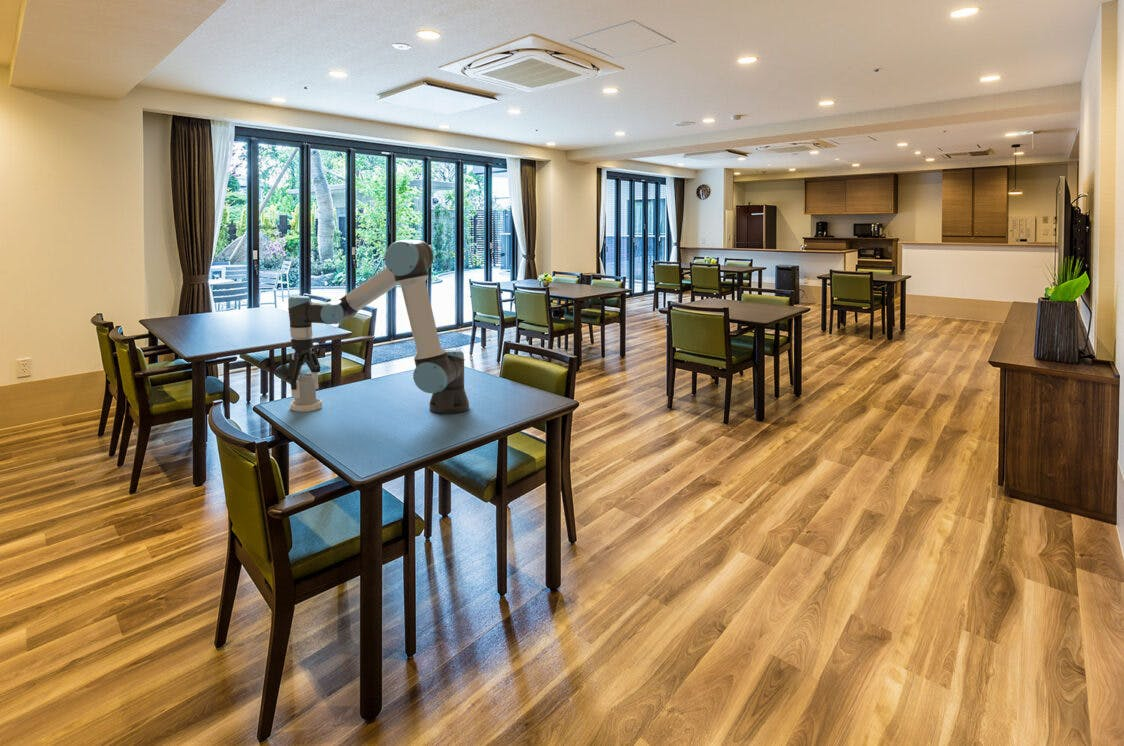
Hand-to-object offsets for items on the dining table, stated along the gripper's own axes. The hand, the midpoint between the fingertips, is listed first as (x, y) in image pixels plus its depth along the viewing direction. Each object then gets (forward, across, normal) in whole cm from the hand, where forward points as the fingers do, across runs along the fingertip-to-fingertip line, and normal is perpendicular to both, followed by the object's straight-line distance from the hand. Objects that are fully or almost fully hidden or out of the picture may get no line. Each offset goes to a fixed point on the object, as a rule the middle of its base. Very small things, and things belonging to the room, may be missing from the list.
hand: (305, 393), depth 233 cm
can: (+5, 0, 0) cm, 5 cm away
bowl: (+6, 0, 0) cm, 6 cm away
